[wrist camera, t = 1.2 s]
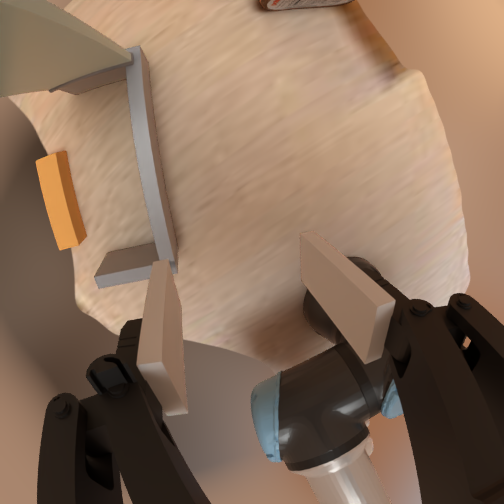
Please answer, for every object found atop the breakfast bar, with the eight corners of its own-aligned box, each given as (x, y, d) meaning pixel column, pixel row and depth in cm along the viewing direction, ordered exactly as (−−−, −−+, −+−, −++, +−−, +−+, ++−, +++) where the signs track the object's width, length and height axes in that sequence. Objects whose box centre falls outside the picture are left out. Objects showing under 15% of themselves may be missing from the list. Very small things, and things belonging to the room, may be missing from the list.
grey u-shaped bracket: (178, 249, 36) (177, 273, 30) (110, 262, 35) (98, 288, 28) (148, 62, 26) (139, 45, 19) (75, 84, 24) (52, 75, 18)
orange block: (87, 235, 33) (78, 245, 29) (69, 240, 32) (59, 250, 29) (66, 150, 27) (55, 152, 24) (48, 157, 27) (35, 160, 24)
